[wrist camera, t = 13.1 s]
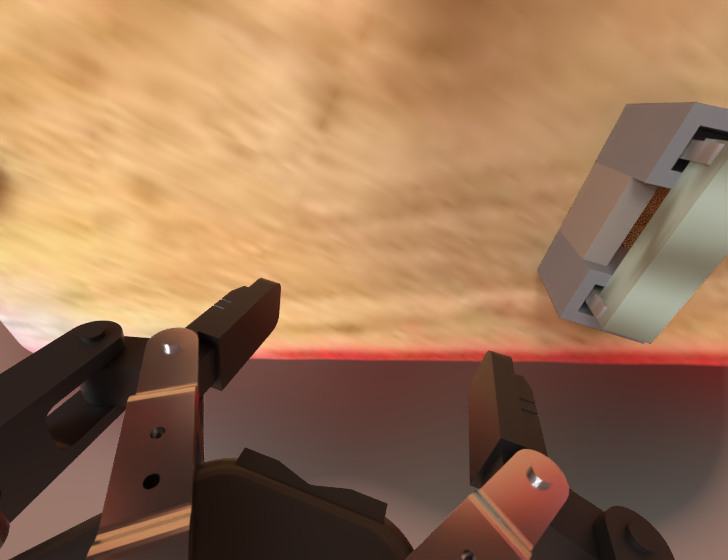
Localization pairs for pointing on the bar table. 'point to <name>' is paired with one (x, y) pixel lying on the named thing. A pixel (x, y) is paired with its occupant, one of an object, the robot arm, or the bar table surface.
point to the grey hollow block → (621, 198)
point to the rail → (670, 249)
